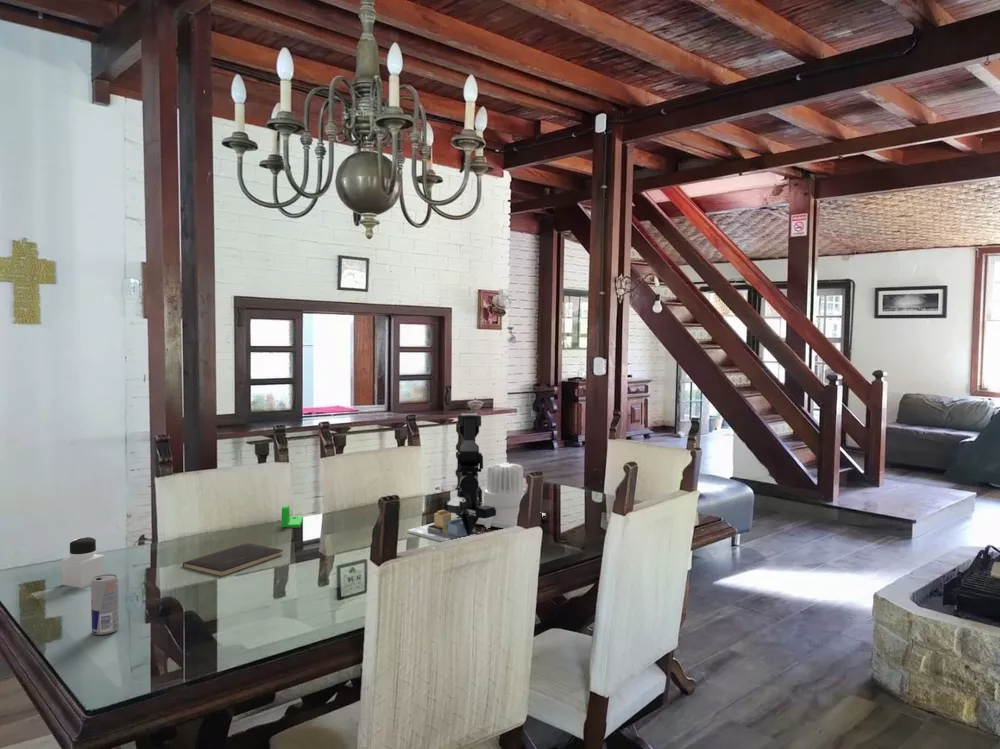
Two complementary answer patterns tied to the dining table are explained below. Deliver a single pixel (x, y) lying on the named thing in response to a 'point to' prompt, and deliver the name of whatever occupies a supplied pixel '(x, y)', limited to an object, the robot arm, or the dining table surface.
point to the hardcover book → (232, 559)
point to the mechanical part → (290, 518)
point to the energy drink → (104, 604)
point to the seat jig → (434, 533)
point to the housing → (456, 528)
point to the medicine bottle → (82, 563)
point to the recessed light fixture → (503, 494)
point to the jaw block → (442, 520)
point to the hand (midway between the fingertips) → (468, 534)
